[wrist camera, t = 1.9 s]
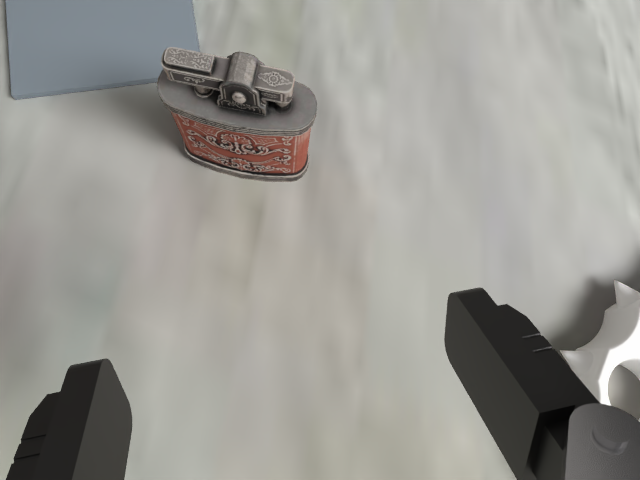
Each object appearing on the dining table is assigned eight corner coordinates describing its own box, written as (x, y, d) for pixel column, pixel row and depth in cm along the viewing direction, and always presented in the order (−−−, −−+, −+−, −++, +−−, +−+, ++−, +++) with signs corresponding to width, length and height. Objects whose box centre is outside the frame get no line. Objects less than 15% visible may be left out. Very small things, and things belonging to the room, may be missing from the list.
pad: (180, -71, 35) (179, -77, 34) (203, 76, 32) (202, 72, 32) (5, -56, 33) (1, -62, 33) (15, 99, 31) (11, 95, 30)
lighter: (312, 142, 32) (327, 51, 22) (303, 190, 31) (314, 116, 21) (192, 118, 32) (153, 15, 22) (180, 166, 31) (133, 80, 21)
